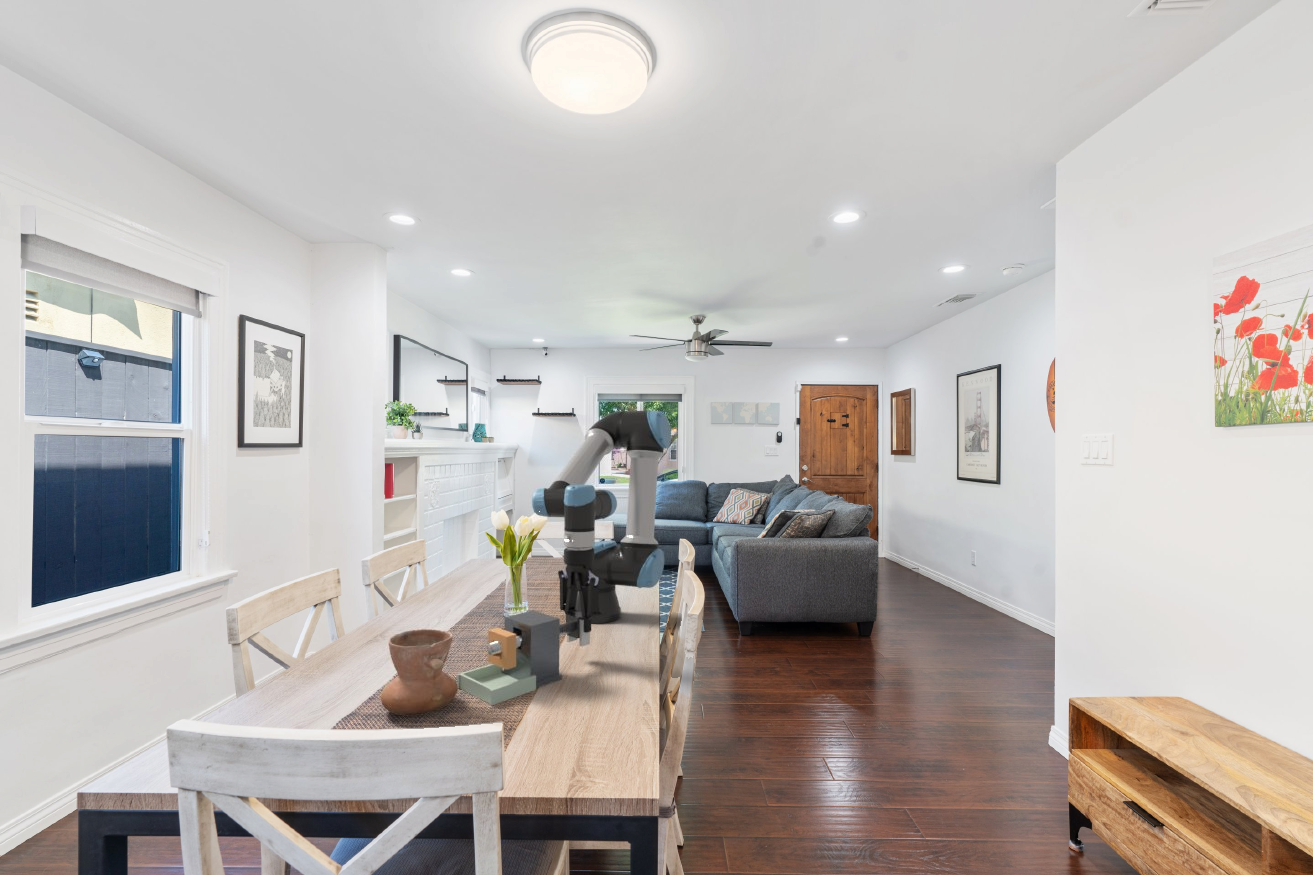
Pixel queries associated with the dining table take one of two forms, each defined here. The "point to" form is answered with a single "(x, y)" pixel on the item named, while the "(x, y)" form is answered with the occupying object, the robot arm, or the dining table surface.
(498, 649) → the shaft
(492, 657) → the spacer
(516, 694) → the tray
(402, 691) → the ceramic jug
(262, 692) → the dining table surface
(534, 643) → the bearing block
